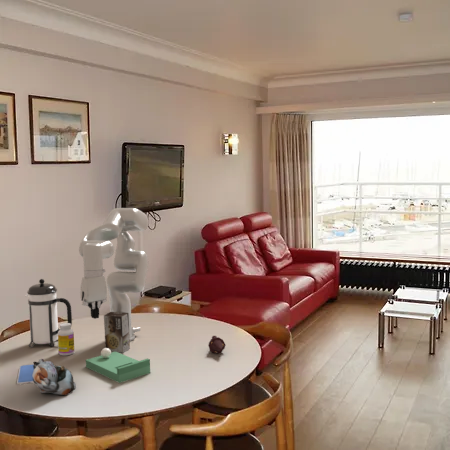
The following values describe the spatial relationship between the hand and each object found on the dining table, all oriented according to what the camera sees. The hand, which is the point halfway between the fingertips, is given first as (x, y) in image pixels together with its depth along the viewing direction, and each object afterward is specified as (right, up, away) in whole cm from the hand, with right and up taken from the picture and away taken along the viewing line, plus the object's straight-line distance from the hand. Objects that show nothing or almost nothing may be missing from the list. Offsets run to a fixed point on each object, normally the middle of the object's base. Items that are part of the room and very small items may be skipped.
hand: (95, 317), depth 230 cm
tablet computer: (-21, -21, -11) cm, 31 cm away
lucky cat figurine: (-8, -22, -29) cm, 37 cm away
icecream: (+50, -17, +10) cm, 53 cm away
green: (+11, -19, -9) cm, 24 cm away
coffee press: (-28, -16, +27) cm, 42 cm away
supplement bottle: (-15, -18, +12) cm, 26 cm away
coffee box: (+6, -17, +16) cm, 24 cm away
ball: (+5, -16, -3) cm, 17 cm away
